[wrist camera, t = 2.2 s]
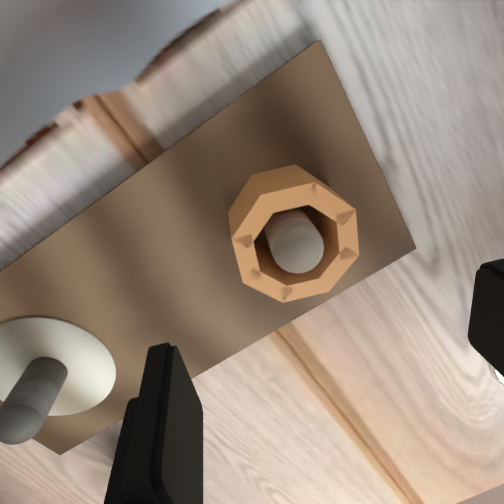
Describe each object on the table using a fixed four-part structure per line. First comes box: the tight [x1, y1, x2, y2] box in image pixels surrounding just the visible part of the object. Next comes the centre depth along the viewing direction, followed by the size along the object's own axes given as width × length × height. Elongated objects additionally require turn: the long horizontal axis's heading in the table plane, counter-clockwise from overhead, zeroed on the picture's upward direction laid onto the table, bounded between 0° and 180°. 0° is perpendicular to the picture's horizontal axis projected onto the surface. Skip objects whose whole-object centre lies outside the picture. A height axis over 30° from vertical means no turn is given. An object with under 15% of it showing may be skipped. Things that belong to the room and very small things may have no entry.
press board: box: [0, 39, 416, 455], centre depth 20 cm, size 32×14×6 cm, turn 123°
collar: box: [228, 164, 359, 303], centre depth 19 cm, size 6×6×4 cm
